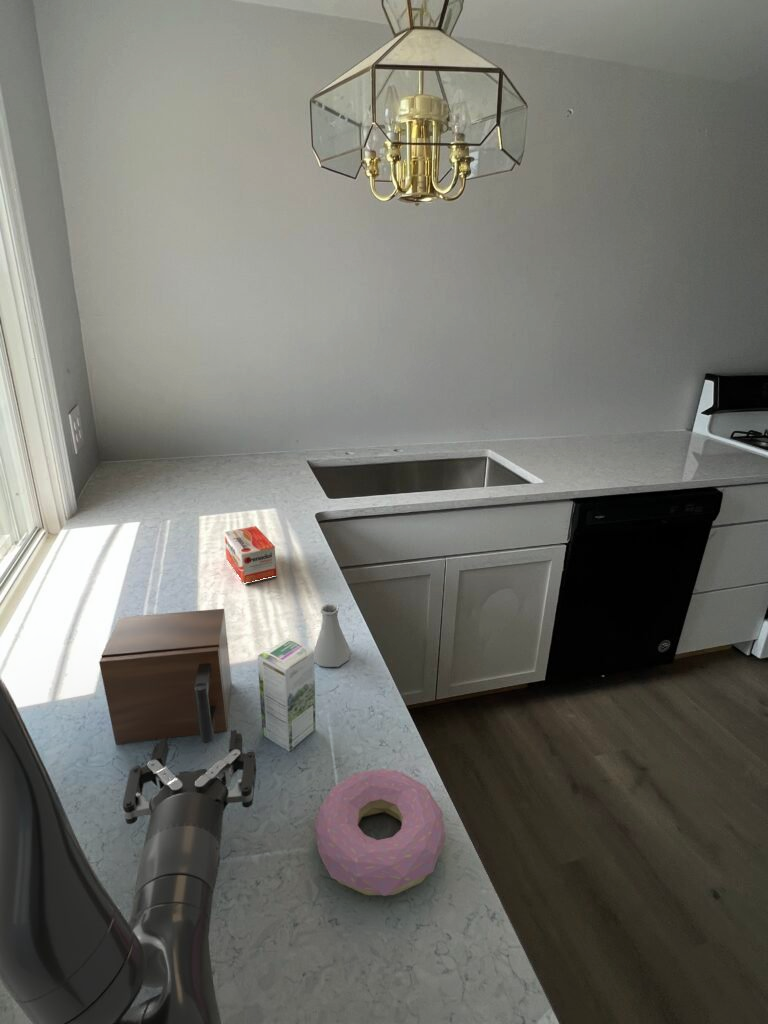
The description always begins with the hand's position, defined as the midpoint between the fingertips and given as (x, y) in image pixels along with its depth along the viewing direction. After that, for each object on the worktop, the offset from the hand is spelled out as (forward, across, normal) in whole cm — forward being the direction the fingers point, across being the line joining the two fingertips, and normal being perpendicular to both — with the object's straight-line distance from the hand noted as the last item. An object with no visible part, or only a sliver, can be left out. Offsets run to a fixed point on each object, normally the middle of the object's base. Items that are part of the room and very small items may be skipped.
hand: (199, 739), depth 71 cm
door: (+7, +6, +8) cm, 12 cm away
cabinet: (+16, +6, +8) cm, 19 cm away
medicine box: (+64, -4, +8) cm, 64 cm away
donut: (-12, -21, +8) cm, 26 cm away
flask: (+26, -19, +8) cm, 33 cm away
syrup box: (+8, -11, +8) cm, 16 cm away
